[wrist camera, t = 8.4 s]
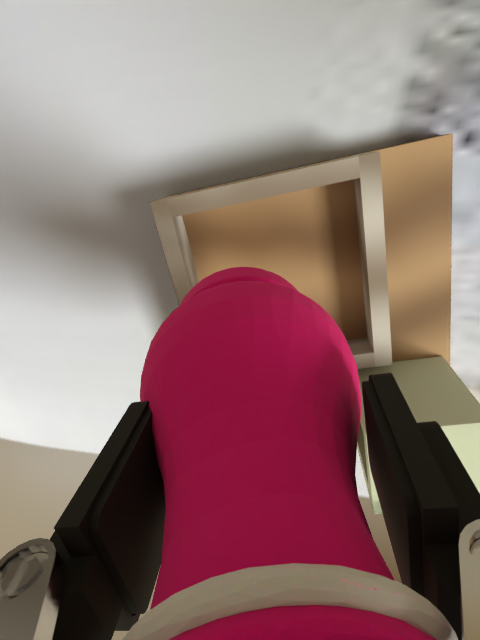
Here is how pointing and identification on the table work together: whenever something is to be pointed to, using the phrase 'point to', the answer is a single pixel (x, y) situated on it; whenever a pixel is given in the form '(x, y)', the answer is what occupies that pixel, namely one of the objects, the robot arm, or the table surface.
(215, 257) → the stand
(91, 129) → the table surface
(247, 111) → the table surface
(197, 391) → the pepper mill
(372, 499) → the block
